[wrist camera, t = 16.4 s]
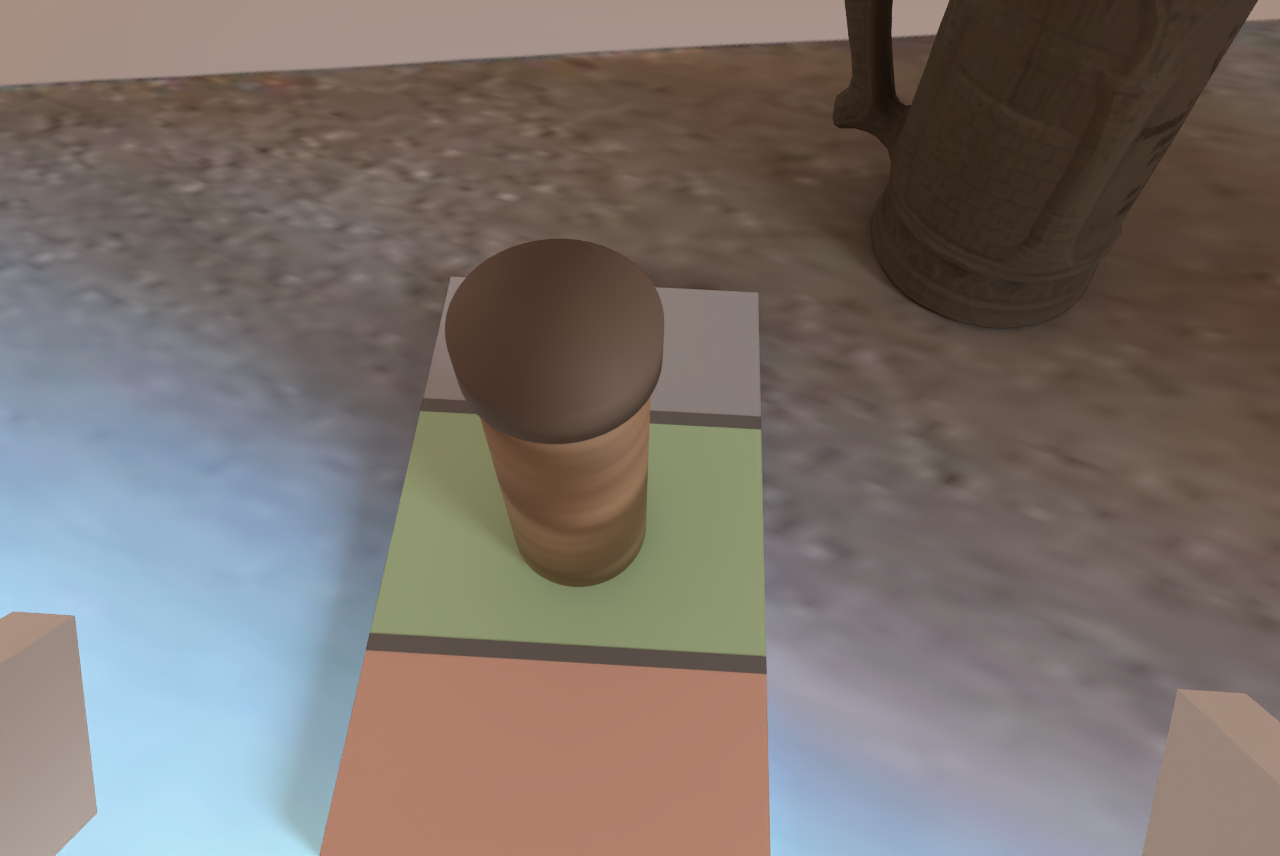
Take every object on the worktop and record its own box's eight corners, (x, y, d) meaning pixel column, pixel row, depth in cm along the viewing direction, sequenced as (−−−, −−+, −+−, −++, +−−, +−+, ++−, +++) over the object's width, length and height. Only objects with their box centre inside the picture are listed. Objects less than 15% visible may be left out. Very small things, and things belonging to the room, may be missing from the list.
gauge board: (754, 312, 40) (758, 292, 39) (764, 895, 27) (771, 892, 26) (456, 296, 40) (450, 275, 39) (330, 867, 28) (317, 863, 26)
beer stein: (1125, 219, 44) (1396, -263, 27) (1078, 370, 39) (1376, -108, 22) (837, 138, 48) (917, -317, 31) (761, 264, 43) (809, -199, 26)
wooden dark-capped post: (656, 463, 34) (667, 242, 23) (651, 598, 31) (660, 417, 20) (515, 456, 34) (462, 234, 23) (497, 591, 31) (427, 407, 21)
